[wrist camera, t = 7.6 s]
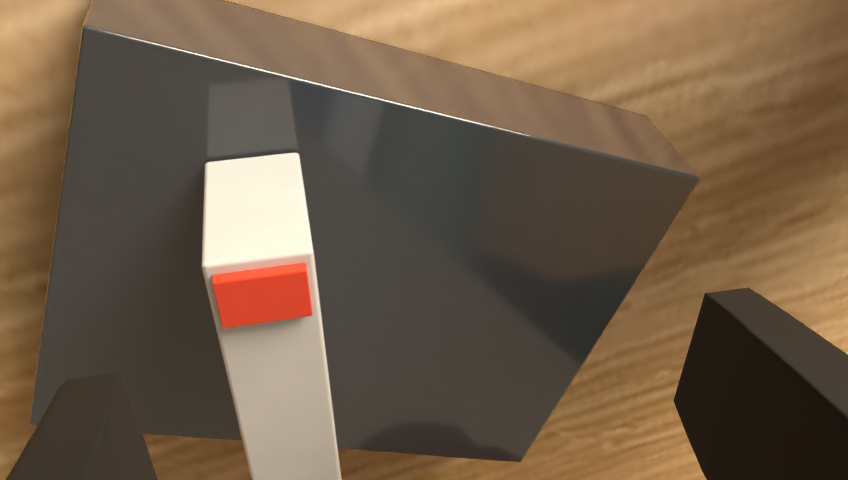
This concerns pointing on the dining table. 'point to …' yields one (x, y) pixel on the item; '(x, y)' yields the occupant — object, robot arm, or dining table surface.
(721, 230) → the dining table surface
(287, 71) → the tap deck
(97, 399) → the robot arm
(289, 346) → the tap lever
